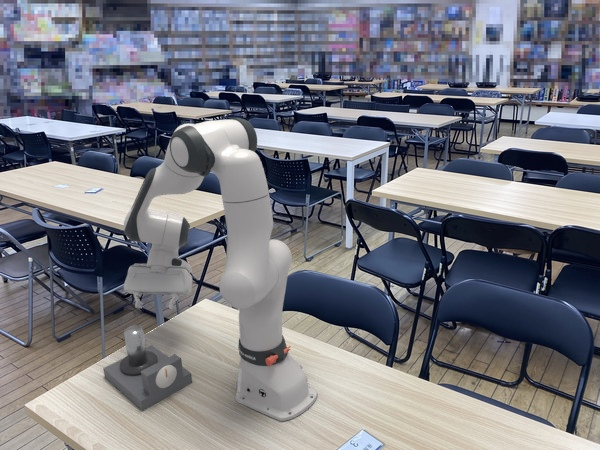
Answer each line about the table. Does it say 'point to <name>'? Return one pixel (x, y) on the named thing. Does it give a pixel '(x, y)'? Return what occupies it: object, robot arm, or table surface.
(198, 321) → the table surface
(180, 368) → the scale
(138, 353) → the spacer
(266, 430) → the table surface
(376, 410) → the table surface
